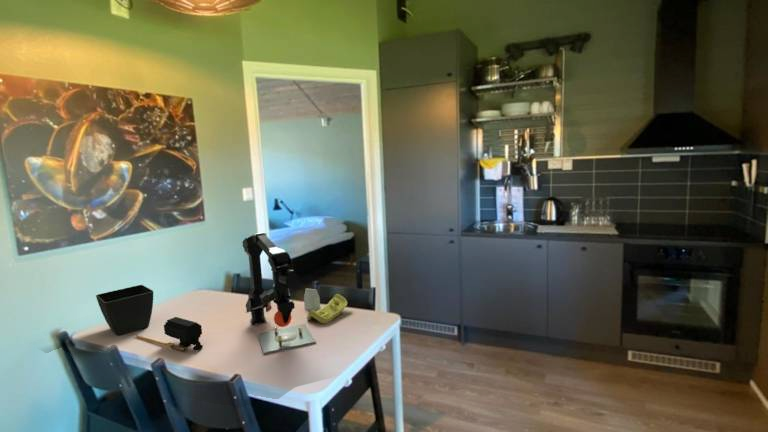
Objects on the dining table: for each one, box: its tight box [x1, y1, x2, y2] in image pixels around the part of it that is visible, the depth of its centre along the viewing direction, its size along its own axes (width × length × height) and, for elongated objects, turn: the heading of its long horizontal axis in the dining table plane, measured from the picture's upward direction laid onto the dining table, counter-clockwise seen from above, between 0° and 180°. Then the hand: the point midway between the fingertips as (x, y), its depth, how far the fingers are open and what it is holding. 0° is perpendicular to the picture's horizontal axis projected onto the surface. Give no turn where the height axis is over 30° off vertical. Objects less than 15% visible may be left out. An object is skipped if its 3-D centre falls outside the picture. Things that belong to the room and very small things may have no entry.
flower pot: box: [95, 284, 154, 336], centre depth 187 cm, size 19×19×17 cm
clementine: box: [273, 310, 292, 328], centre depth 166 cm, size 8×7×7 cm
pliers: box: [246, 302, 272, 313], centre depth 211 cm, size 12×20×3 cm, turn 179°
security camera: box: [163, 316, 204, 352], centre depth 166 cm, size 7×18×10 cm, turn 58°
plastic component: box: [306, 293, 348, 324], centre depth 191 cm, size 20×7×10 cm
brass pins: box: [273, 326, 302, 344], centre depth 168 cm, size 12×10×3 cm
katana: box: [135, 334, 187, 352], centre depth 168 cm, size 1×35×3 cm, turn 60°
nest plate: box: [257, 323, 317, 356], centre depth 167 cm, size 20×20×1 cm
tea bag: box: [303, 288, 321, 312], centre depth 201 cm, size 4×7×10 cm, turn 61°
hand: (284, 320), depth 167 cm, fingers closed on clementine, 7 cm apart
